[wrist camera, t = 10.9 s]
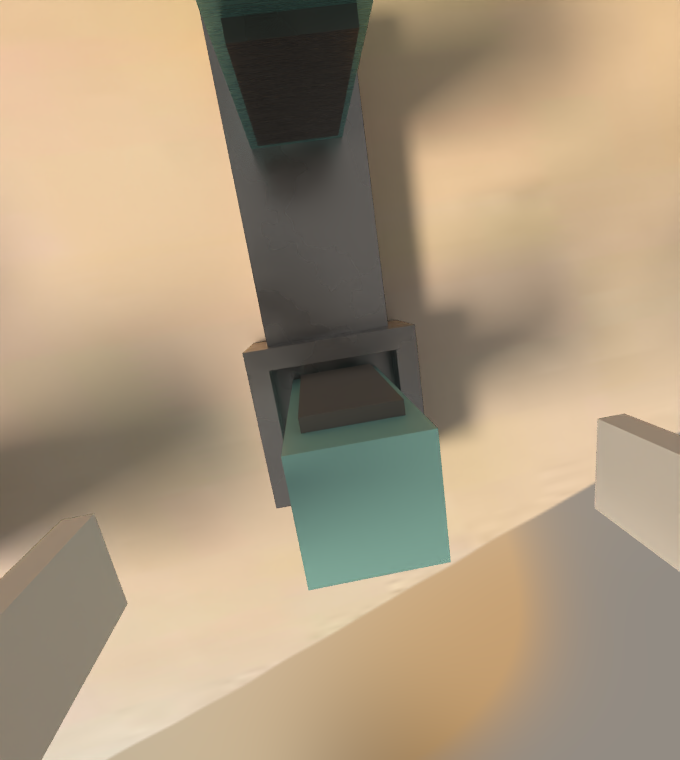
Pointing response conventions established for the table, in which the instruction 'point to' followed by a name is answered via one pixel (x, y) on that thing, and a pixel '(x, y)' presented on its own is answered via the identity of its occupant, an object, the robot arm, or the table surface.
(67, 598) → the robot arm
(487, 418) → the table surface
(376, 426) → the block
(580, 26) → the table surface
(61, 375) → the table surface
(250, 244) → the grey and teal stand
